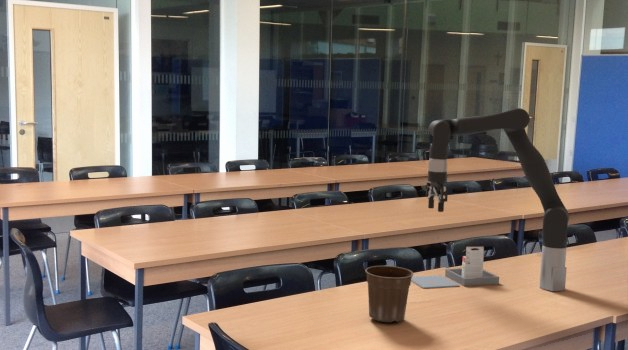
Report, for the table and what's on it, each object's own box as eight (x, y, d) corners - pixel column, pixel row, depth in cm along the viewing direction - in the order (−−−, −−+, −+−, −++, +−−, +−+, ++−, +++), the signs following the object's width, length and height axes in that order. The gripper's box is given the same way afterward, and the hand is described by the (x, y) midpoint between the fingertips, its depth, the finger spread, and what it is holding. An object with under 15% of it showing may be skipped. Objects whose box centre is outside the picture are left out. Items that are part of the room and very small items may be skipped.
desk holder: (498, 284, 289) (499, 276, 289) (463, 286, 284) (464, 278, 284) (478, 274, 304) (479, 267, 304) (445, 275, 299) (445, 269, 299)
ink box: (461, 279, 295) (462, 244, 294) (479, 278, 296) (481, 244, 295) (463, 281, 292) (465, 246, 290) (482, 281, 293) (484, 246, 291)
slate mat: (459, 286, 284) (459, 285, 284) (423, 288, 279) (423, 287, 279) (440, 276, 299) (440, 275, 299) (406, 278, 294) (406, 276, 294)
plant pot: (414, 312, 248) (416, 267, 246) (407, 327, 232) (409, 279, 230) (368, 307, 252) (370, 263, 250) (359, 321, 237) (360, 274, 235)
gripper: (454, 172, 278) (452, 212, 280) (437, 168, 291) (436, 206, 293) (437, 172, 276) (435, 213, 278) (421, 168, 289) (419, 207, 291)
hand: (435, 210), depth 285 cm, fingers open, 8 cm apart
